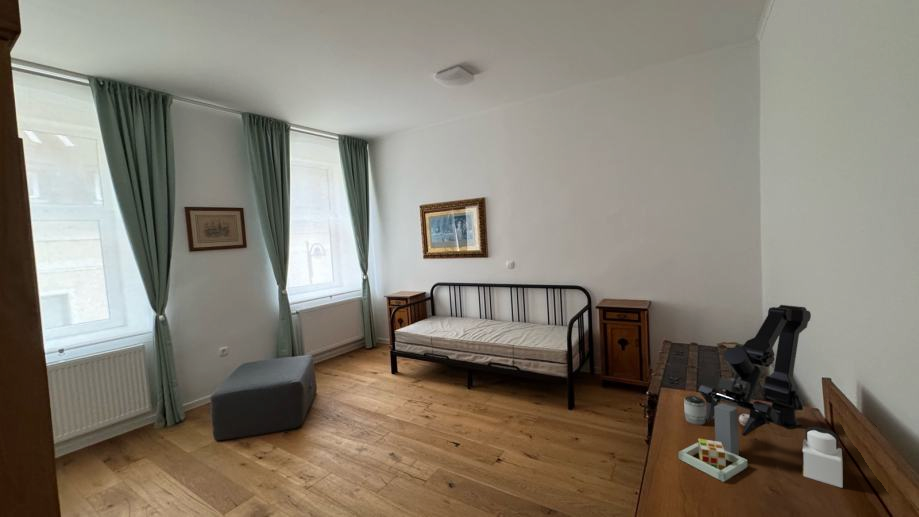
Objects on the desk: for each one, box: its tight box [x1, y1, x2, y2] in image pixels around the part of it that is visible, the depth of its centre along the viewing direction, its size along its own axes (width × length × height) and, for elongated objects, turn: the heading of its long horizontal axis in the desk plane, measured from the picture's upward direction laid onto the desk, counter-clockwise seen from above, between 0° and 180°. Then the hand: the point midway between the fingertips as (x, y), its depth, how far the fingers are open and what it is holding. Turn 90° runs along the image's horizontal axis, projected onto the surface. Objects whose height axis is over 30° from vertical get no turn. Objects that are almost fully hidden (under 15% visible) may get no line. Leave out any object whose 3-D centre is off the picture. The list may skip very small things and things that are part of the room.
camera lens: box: [683, 395, 707, 426], centre depth 124 cm, size 6×6×8 cm
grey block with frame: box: [678, 402, 749, 483], centre depth 102 cm, size 15×12×14 cm
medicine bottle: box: [802, 426, 844, 489], centre depth 94 cm, size 7×7×12 cm
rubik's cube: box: [697, 438, 727, 470], centre depth 101 cm, size 6×6×6 cm
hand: (724, 428), depth 104 cm, fingers open, 9 cm apart
